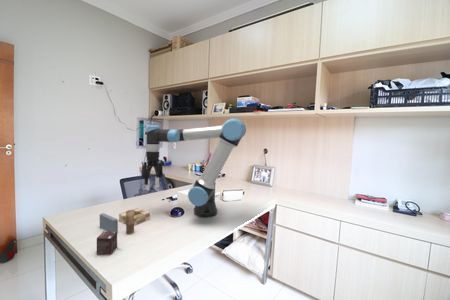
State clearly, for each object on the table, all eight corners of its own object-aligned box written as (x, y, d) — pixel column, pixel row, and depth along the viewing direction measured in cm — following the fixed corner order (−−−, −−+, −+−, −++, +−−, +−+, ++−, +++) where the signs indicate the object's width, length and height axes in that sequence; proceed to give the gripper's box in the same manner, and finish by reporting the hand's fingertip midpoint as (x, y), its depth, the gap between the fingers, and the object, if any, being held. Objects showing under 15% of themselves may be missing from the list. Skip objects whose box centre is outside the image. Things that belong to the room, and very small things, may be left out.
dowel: (135, 234, 105) (135, 211, 104) (128, 237, 102) (129, 213, 101) (131, 232, 107) (131, 209, 106) (124, 235, 104) (124, 211, 103)
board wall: (157, 219, 123) (157, 206, 122) (110, 239, 99) (110, 222, 99) (141, 213, 131) (141, 201, 130) (94, 230, 107) (94, 215, 106)
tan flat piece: (149, 219, 120) (149, 212, 120) (131, 226, 110) (131, 219, 110) (137, 214, 126) (137, 208, 126) (119, 221, 116) (119, 214, 116)
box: (103, 247, 92) (103, 231, 92) (117, 247, 93) (117, 231, 92) (96, 255, 86) (96, 238, 86) (111, 255, 87) (111, 238, 86)
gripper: (161, 149, 135) (160, 184, 137) (134, 151, 119) (134, 190, 121) (169, 150, 132) (168, 186, 133) (142, 152, 115) (142, 193, 117)
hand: (152, 188), depth 127 cm, fingers open, 6 cm apart
